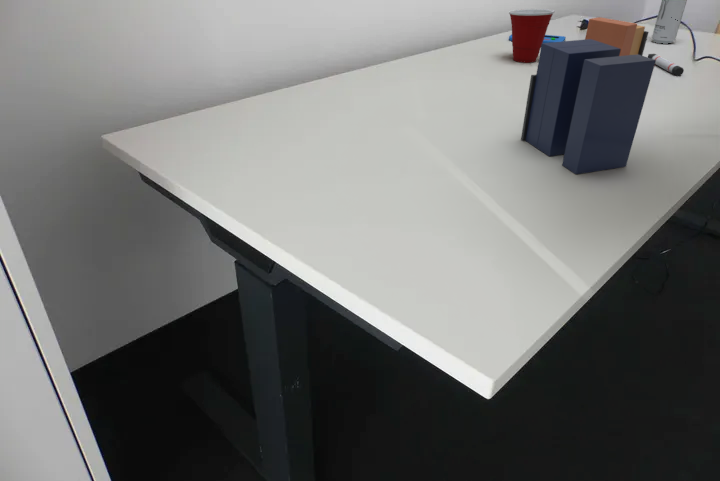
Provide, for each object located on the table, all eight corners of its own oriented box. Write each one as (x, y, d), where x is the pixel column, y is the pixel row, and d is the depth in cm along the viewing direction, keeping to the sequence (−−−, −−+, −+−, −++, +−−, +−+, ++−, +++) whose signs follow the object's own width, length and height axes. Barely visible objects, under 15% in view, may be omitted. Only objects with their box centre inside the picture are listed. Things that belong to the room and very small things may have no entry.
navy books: (599, 149, 88) (624, 48, 80) (546, 156, 86) (566, 53, 77) (570, 132, 95) (590, 37, 86) (520, 139, 92) (536, 42, 84)
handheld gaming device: (513, 31, 160) (566, 35, 155) (513, 35, 161) (565, 39, 155) (507, 36, 154) (562, 41, 149) (507, 40, 155) (561, 45, 149)
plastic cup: (528, 52, 143) (535, 4, 137) (555, 62, 135) (564, 11, 128) (493, 57, 140) (499, 7, 133) (519, 67, 131) (527, 14, 125)
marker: (682, 76, 124) (685, 67, 123) (673, 76, 124) (676, 67, 123) (650, 59, 137) (653, 51, 135) (643, 59, 137) (645, 51, 135)
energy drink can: (647, 39, 155) (662, -18, 147) (668, 39, 155) (684, -18, 147) (656, 44, 150) (673, -15, 142) (678, 44, 150) (696, -15, 142)
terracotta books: (613, 90, 115) (629, 26, 108) (574, 79, 122) (587, 18, 115) (634, 84, 119) (651, 21, 112) (595, 74, 126) (608, 14, 119)
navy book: (626, 166, 83) (656, 60, 74) (575, 174, 80) (600, 65, 72) (610, 157, 86) (638, 54, 77) (561, 165, 83) (584, 59, 75)
